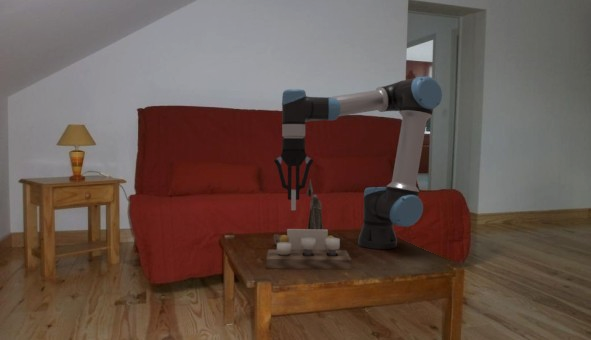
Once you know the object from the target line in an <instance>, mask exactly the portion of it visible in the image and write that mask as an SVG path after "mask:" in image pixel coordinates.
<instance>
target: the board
mask: <svg viewBox="0 0 591 340" xmlns="http://www.w3.org/2000/svg"><path fill="white" fill-rule="evenodd" d="M265 265H266V267H265V268H266V269H292V270H293V269H299V270H301V269H302V270H303V269H305V270H309V269H310V270H312V269H313V270H316V269H317V270H319V269H320V270H352V258H351V256H350V255H349V252H348V251H347V250H346V249H344V250H343V249H338V250H336V256H329V250H328V249H327V250H312V256H305V250H291V254H288V256H280V254H277V249H273V248H272V249H267V254H266V264H265Z"/></svg>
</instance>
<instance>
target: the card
mask: <svg viewBox="0 0 591 340" xmlns="http://www.w3.org/2000/svg"><path fill="white" fill-rule="evenodd" d="M304 237H311V238H315V239H316V248H315V249H312V250H328V249H326V248H325V239H326V238H335V237H334V235H329V230H328V229H324V228H323V229H307V228H306V229H305V228H287V230H286V234H282V236H281V237H280V242H288V243H291V250H305V249H302V248H301V238H304Z"/></svg>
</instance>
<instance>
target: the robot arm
mask: <svg viewBox="0 0 591 340" xmlns="http://www.w3.org/2000/svg"><path fill="white" fill-rule="evenodd" d="M442 97H443V90H442V87H441V85H440V84H439V83H438V81H437V80H436V79H434V78H433V77H431V76H417V77H414V78H410V79H405V80H400V81H397V82H394V83H391V84H388V85H385V86H379V87H376V89H375V90H370V91H362V92H356V93H355V92H354V93H350V94H342V95H336V96H335V95H334V96H328V97H323V96H322V97H321V96H320V97H319V96H308V95H307V94H306V91H305V89H299V88H290V89H289V88H288V89H285V90H284V91H283V92H282V100H281V108H282V109H281V111H282V112H281V113H282V117H281V118H282V121H281V122H282V123H281V124H282V126H281V127H282V128H281V129H282V130H281V131H282V134H281V137H283V138H282V140H281V145H282V146H281V148H282V149H281V151H282V152H281V154H280V156H278V157H277V158H275V159H273V160H274V161H273V162H274V163H275V165H276V167H277V171H278V175H279V180H280V183H281V187H282V188H283V189H285V190H286V191H287V200H290V203H291V204H290V207H291V208H290V211H296V210H297V200H300V190H302V189H305V187H306V184H307V180H308V176H309V171H310V168H311V166H312V164H313V162H314V160H313V158H310V157H308V155H307V153H306V138H305V137H306V123H307V122H317V121H329V122H330V121H335V120H337V119H338V118H339V117H342V116H344V117H345V116H349V115H354V114H355V115H356V114H357V115H358V114H361V113H367V112H368V113H369V112H374V111H378V112H380V113H384V112H398V113H399V114H400V115H401V117H402V120H401V125H400V131H399V137H398V143H397V149H396V156H395V160H394V161H395V162H394V167H393V174H392V178H391V182H390V183H388V184H387V185H386V186H379V187H377V186H376V187H374V186H373V187H366V188H365V189H364V192H363V220H362V221H363V223H362V227H361V230H360V232H359V236H358V242H357V244H358V245H359V246H361V247H364V248H367V249H374V250H375V249H376V250H388V249H389V250H390V249H395V248H397V246H398V238H397V235H396V231H395V228H394V225H395V226H399V227H405V228H406V227H411V226H413V225H415V223H417V222H418V221H419V220H420V219H421V217H422V215H423V212H424V204H423V202H422V199H420V197H419V194H420V190H419V188H418V187H417V181H418V176H419V175H418V174H419V168H420V162H421V156H422V151H423V144H424V138H425V135H426V134H425V133H426V127H427V121H428V120H430V118H431V119H432V117H433V111H434V109H435V108H437V107H438V106H439V105H440V104H441V102H442V100H443V99H442ZM304 161H305V168H304V172H303V175H302V180H301V184H300V167H301V165H302V164H303V163H304ZM282 162H284V164H285V165H286V166H287V184H286V180H285V176H284V172H283V168H282ZM292 167H295V189H292V179H293V178H292V175H293V174H292V169H293V168H292Z"/></svg>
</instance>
